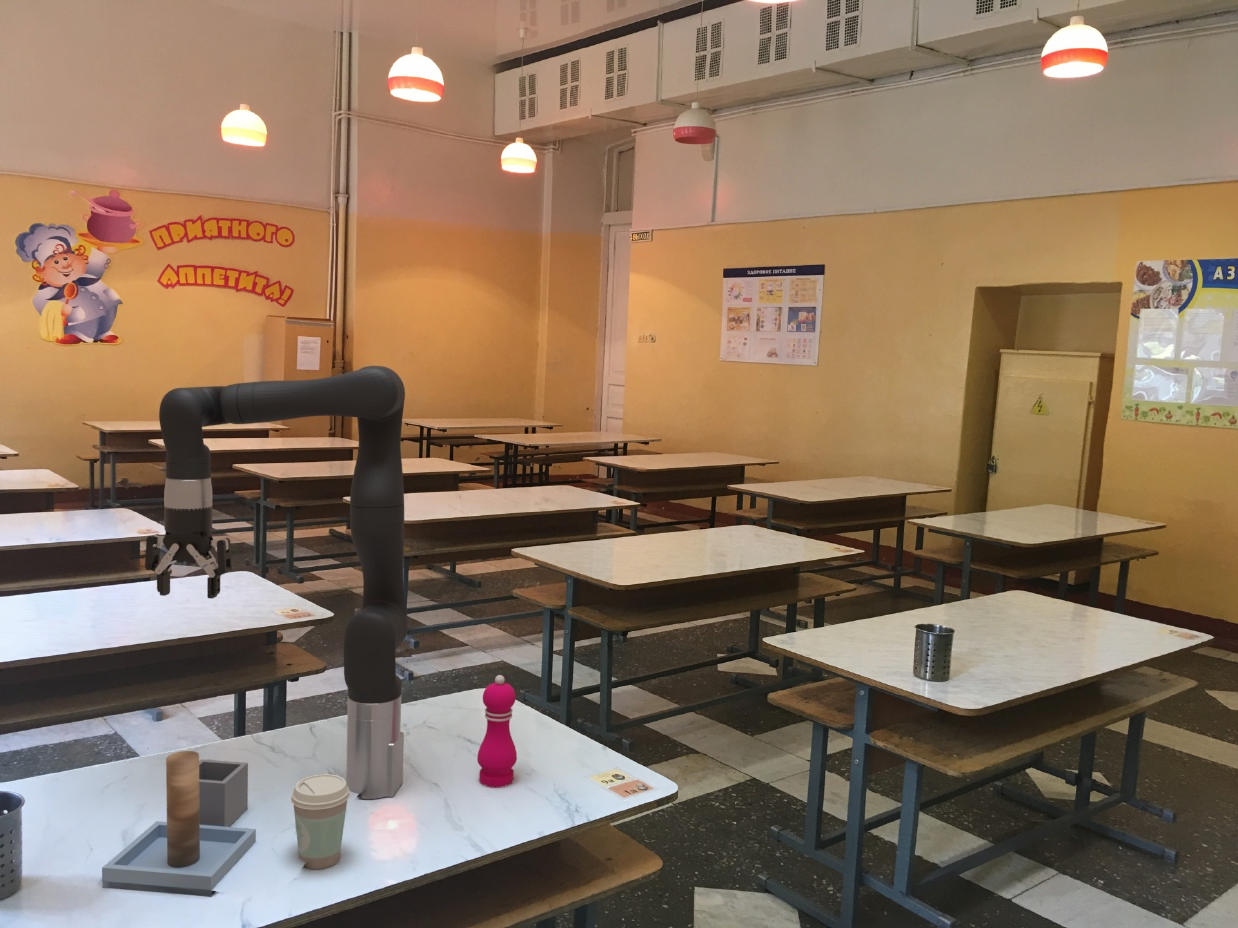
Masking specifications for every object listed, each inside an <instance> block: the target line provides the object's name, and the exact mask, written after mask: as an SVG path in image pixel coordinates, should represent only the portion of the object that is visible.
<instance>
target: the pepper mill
mask: <svg viewBox="0 0 1238 928" xmlns="http://www.w3.org/2000/svg"><path fill="white" fill-rule="evenodd" d="M516 697H517V696H516V691H515V689H514V687H512V685H510V684H509V683H507V682H505V676H503V675H502V674H498V675H496V676H495V678H494V682H492V683H491V684H489V685H487V686H486V687H485V689H484V691H483V693H482V702H483V705H484V706H485V709H484V713H485V714H484V718H485V719H486V731H485V735H484V738H483V740H482V742H481V744H480V746H479V748H478V751H477V757H476V758H477V761H476V762H477V764H478V765H479V767H480V768H481V769H480V770H479V782H480V784H482V785H483V786H485V785H486V786H485V787H490V788H502V787H501V786H504V787H506V786H505V785H507V786H509V785H511V784H512V783H513V782H512V781H514V776H515V775H514V774H515V773H514V769H513V767H514V766H515V765H516V762H517V759H518V757H517V749H516V745H515V743H514V740H513V738H512V733H511V730H510V722H511V721H510V720H511V719H512V718H513V714H512V713H513V708H512V707H513V706H514V704H515V703H516V700H517V699H516ZM511 782H512V783H511ZM510 783H511V784H510ZM508 784H509V785H508Z"/></svg>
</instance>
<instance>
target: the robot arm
mask: <svg viewBox="0 0 1238 928" xmlns="http://www.w3.org/2000/svg"><path fill="white" fill-rule="evenodd" d="M405 390H406V389H405V385H404V382H403V381H402V379H401V377H400V375H398V373H397V372H396V371H394V370H392V368H389V367H388V366H387V367H386V366H383V365H368V366H363V367H361V368H359V369H357V370H352V371H349V372H345V373H341V374H338V375H333V376H326V377H323V378H322V377H321V378H320V377H319V378H315V379H302V380H263V381H250V382H248V381H247V382H239V383H231V384H227V385H219V386H218V385H217V386H216V385H214V386H193V387H192V386H190V387H189V386H188V387H176V388H173V389H171V390H169V391H168V392H167V393H165V394H164V396H163V397H162V398H161V401H160V403H159V404H160V405H159V413H158V419H159V426H160V431H161V437H162V441H163V442H162V443H163V445H164V448H165V452H166V455H165V456H166V457H165V484H164V485H165V486H164V489H163V490H164V491H163V492H164V494H163V495H164V497H163V502H164V506H163V507H164V510H163V511H164V514H163V515H164V522H163V523H164V532H165V534H164V536H162V535H160V534H159V533H155V534H151V535H149V536H147V537H146V539H145V540H146V541H145V542H146V543H145V559H144V568H145V570H146V571H152V572H154V573H155V574H156V590H157V592H158V593H159V596H163V597H165V596H168V595H169V594H170V593H171V572H169V570H171V568H172V567H173V565H174V564H175V563H189V564H198V566H199V567H200V568H201V569H202V570H204V571H205V573H206V575H207V576H208V577H207V586H206V587H207V589H206V590H207V596H206V597H207V599H215V598H217V596H218V595H219V594H220V592H221V576H222V575H225V574H227V573H229V572H231V571H232V569H233V567H232V552H231V551H232V547H231V545H232V544H231V539H230V538H228V537H225V538H222V539H216V538H215V539H214V538H213V535H212V531H213V486H212V475H211V474H212V473H211V472H212V471H211V469H212V468H211V467H212V465H211V463H212V462H211V461H212V456H211V450H210V447H209V446H208V445H206V444H205V442H204V434H203V428H204V427H213V426H221V425H227V424H232V425H249V424H250V425H251V424H262V423H272V422H281V421H287V420H293V419H300V418H301V419H302V418H310V417H324V416H325V417H326V416H329V417H330V416H332V417H335V416H336V417H347V418H348V417H349V418H357V419H356V420H357V430H358V431H357V433H358V447H357V448H358V449H357V450H358V451H357V457H356V461H355V465H354V470H353V475H352V480H351V481H352V482H351V487H350V495H349V509H350V510H349V518H350V519H349V520H350V521H349V524H350V534H351V539H352V543H353V546H354V550H355V553H356V555H357V558H358V560H359V563H360V567H361V571H362V579H363V581H362V582H363V585H362V586H363V587H362V588H363V589H362V590H363V591H362V604H361V610H360V611H358V612H357V613H355V614H354V615H353V616H352V617H350V619H349V621H347V623H346V625H345V628H344V634H343V678H344V682H345V685H346V688H347V714H346V716H347V718H346V719H347V720H346V721H347V723H346V724H347V726H346V732H347V733H346V771H345V773H346V776H345V780H346V783H347V786H348V788H349V792H352V793H355V794H357V796H356V798H358V799H363V800H364V799H365V800H369V799H370V800H374V799H381V798H385V797H389V798H390V797H391V798H392V797H394V796H395V794H396V793H397V792H398V790H399V789H400V787H401V786H402V784H403V783H404V779H403V778H404V751H405V750H404V746H405V745H404V743H405V738H404V737H405V733H404V732H403V731H401V727H402V726H401V724H402V723H401V722H402V720H401V719H402V690H403V689H402V688H403V687H402V680H401V678H400V676H399V675H397V673H396V666H397V665H396V652H397V651H396V650H397V649H398V648H399V647H400V646H401V645H402V644H403V643H404V641H405V639H406V637H407V634H408V630H409V629H408V628H409V620H408V619H409V618H408V610H407V604H406V594H405V583H404V556H405V554H404V552H405V546H404V545H405V541H404V540H405V491H404V489H405V488H404V475H403V473H404V471H403V460H402V451H401V450H402V449H401V446H402V445H401V444H402V443H401V442H402V438H401V437H402V427H403V426H402V425H403V417H404V408H405V401H406V391H405ZM163 546H164V547H165V549H166V550H167V552H166V553H165V555H164V556H163V557H162V558H161V557H160V556H161V548H162V547H163ZM212 548H214V551H215V552H216V555H217V560H216V558H215V556H214V554H212V551H211V549H212ZM160 558H161V559H160ZM216 561H217V562H216Z"/></svg>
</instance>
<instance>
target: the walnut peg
mask: <svg viewBox="0 0 1238 928" xmlns="http://www.w3.org/2000/svg"><path fill="white" fill-rule="evenodd" d="M199 761H200V754H199V752H197V751H194V750H183V751H176V752H173V753H171V754H169V755H168V756H166V759H165V766H166V767H165V768H166V769H165V770H166V775H165V776H166V779H165V780H166V783H165V784H166V788H165V789H166V822H167V864H168V865H169V866H170V867H174V868H183V867H187V866H191V865H193V864H195V863H196V862H197V861H198V860H199V859H200V813H199Z"/></svg>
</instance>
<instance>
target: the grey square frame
mask: <svg viewBox="0 0 1238 928" xmlns="http://www.w3.org/2000/svg"><path fill="white" fill-rule="evenodd" d="M248 783H249V763H248V762H243V761H242V762H241V761H240V762H239V761H229V760H227V761H226V760H213V759H203V758H201V759H199V813H200V825H211V826H223V827H232V826H233V824H235V823H236V822H237V821H238V819H240V818H241V817H242V816H243V814H245V813H246V812H247V810H248V809H249V808H248V807H249V805H248V804H249V803H248V801H249V799H248V796H249V795H248V794H249V793H248V792H249V789H248V788H249V787H248V786H249V784H248Z"/></svg>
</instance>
